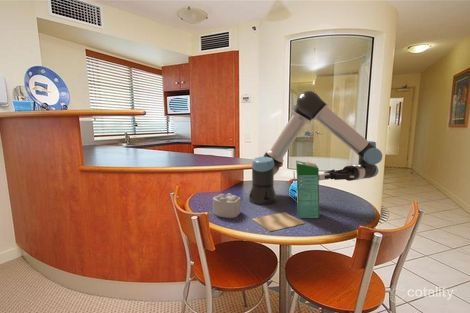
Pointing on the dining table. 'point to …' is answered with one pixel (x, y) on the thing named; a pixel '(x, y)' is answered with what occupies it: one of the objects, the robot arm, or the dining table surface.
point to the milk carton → (307, 189)
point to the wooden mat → (277, 221)
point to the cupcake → (292, 180)
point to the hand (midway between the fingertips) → (318, 177)
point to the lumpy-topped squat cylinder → (227, 205)
